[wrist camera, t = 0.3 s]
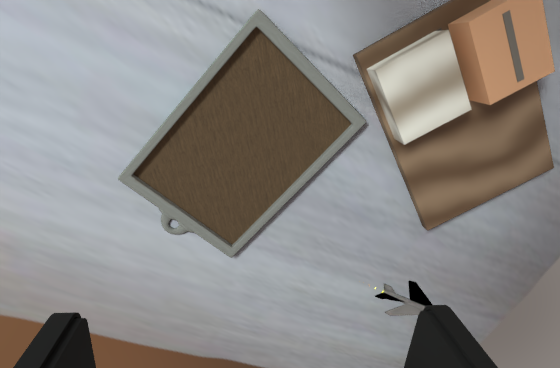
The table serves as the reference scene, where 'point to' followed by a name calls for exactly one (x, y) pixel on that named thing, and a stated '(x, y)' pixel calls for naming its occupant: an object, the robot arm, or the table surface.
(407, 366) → the robot arm
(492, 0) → the tan box with slot
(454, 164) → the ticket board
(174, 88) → the table surface
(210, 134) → the framed hanging board
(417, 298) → the toy airplane
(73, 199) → the table surface
